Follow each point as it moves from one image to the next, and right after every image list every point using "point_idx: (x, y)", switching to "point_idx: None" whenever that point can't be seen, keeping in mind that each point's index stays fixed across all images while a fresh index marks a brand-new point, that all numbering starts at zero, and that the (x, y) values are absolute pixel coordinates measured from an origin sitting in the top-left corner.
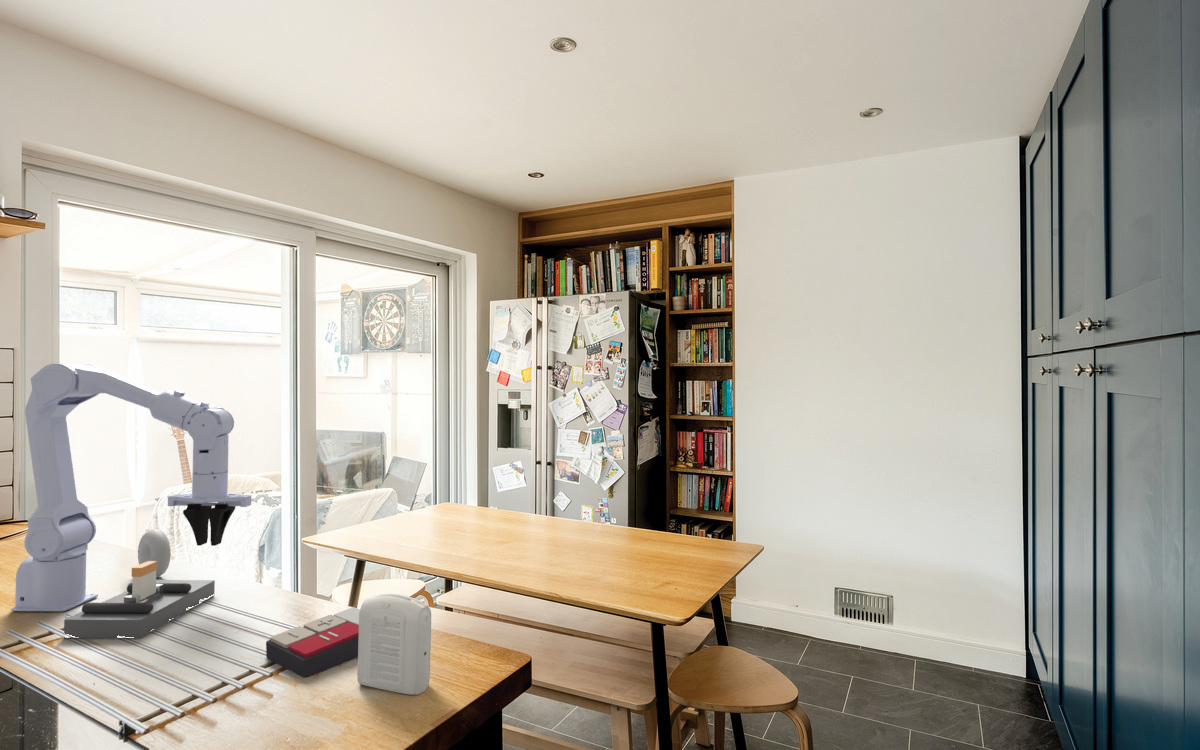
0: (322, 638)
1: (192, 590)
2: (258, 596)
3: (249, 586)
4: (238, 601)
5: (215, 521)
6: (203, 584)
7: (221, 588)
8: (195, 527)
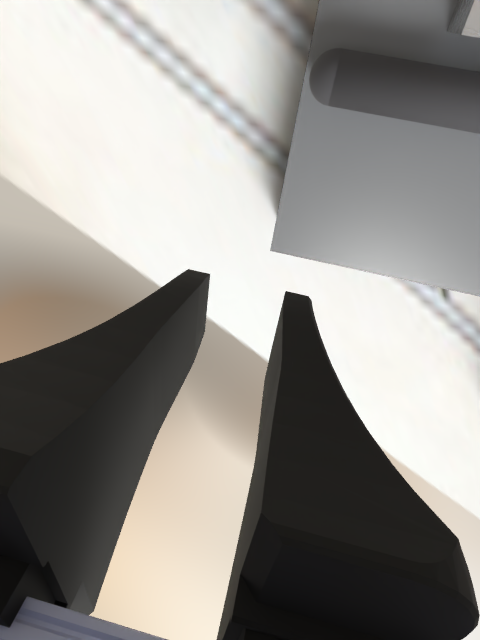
0: None
1: (313, 108)
2: (122, 188)
3: None
4: (164, 141)
5: (55, 360)
6: (295, 200)
7: None
8: (300, 376)
